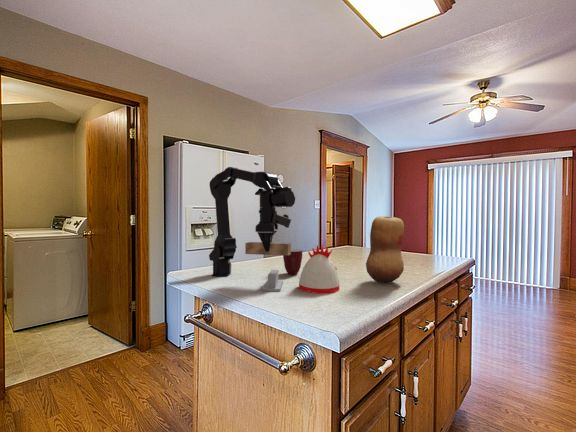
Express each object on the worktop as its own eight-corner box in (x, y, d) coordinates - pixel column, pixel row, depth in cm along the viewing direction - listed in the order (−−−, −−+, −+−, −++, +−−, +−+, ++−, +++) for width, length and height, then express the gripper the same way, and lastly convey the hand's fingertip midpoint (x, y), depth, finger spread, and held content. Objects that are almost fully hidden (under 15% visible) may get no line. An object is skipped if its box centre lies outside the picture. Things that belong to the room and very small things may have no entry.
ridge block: (262, 291, 102) (262, 276, 102) (266, 282, 114) (266, 269, 114) (280, 291, 102) (280, 276, 101) (282, 282, 114) (283, 269, 113)
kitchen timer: (338, 295, 99) (339, 248, 98) (296, 292, 101) (296, 246, 101) (339, 284, 112) (340, 243, 112) (302, 282, 115) (303, 242, 115)
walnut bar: (245, 254, 111) (245, 242, 111) (249, 252, 115) (249, 242, 115) (288, 255, 107) (287, 243, 107) (290, 254, 110) (290, 243, 110)
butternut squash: (396, 289, 107) (397, 216, 106) (360, 283, 115) (361, 216, 114) (408, 281, 118) (409, 216, 117) (374, 276, 126) (375, 215, 125)
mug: (304, 277, 124) (304, 252, 123) (284, 277, 123) (284, 252, 122) (300, 271, 134) (300, 249, 134) (281, 272, 133) (282, 249, 133)
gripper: (288, 206, 101) (289, 254, 101) (291, 207, 120) (291, 247, 120) (255, 206, 102) (255, 254, 102) (262, 207, 120) (262, 247, 120)
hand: (267, 250), depth 111 cm, fingers closed on walnut bar, 4 cm apart
